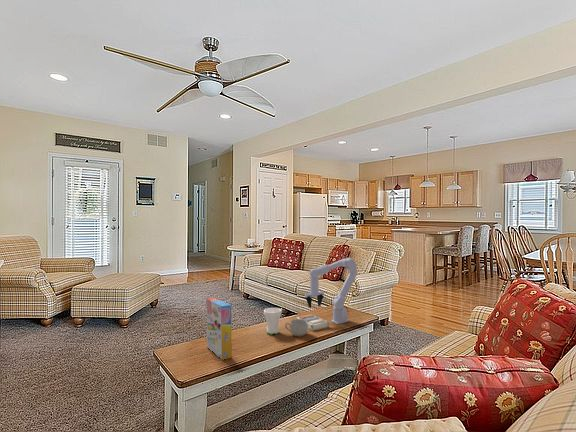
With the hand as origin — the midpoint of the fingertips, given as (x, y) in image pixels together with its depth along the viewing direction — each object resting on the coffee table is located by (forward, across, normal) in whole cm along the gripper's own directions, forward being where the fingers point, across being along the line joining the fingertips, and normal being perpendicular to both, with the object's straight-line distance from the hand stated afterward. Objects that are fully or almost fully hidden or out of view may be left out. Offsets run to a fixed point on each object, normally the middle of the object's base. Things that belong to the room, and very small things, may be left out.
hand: (314, 306), depth 225 cm
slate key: (+8, +5, +4) cm, 11 cm away
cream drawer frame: (+10, +5, +4) cm, 12 cm away
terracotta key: (+8, +5, -2) cm, 10 cm away
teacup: (+11, +23, +14) cm, 29 cm away
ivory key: (+8, +5, +10) cm, 14 cm away
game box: (+11, +72, +15) cm, 74 cm away
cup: (+11, +34, +4) cm, 36 cm away
